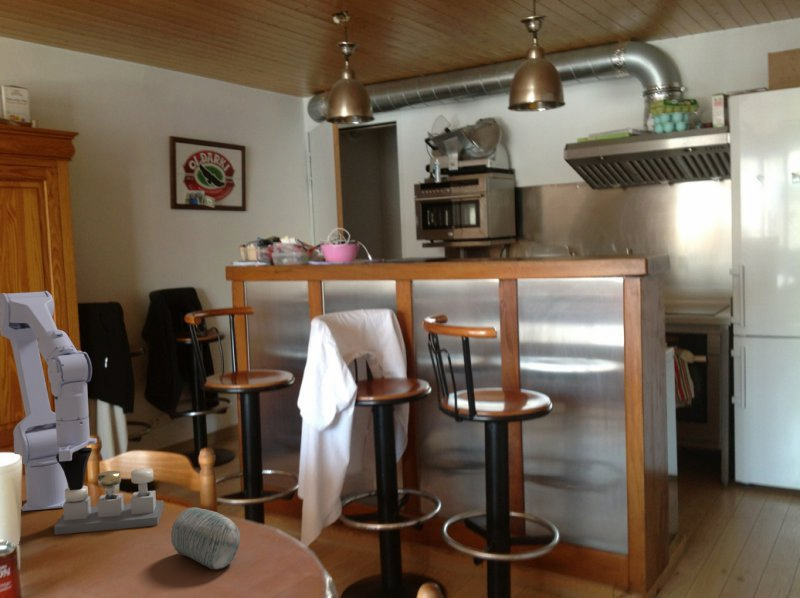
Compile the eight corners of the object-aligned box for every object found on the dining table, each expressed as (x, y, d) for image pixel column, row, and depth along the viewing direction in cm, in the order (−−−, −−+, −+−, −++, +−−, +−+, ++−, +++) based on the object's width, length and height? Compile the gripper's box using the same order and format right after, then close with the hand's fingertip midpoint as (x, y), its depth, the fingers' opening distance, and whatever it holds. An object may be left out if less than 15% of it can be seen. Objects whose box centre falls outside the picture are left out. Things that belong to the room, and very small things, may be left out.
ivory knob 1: (68, 510, 145) (67, 486, 145) (91, 509, 146) (89, 484, 145) (63, 518, 141) (62, 492, 141) (86, 516, 142) (85, 490, 141)
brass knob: (101, 496, 146) (100, 471, 146) (123, 494, 147) (121, 470, 146) (97, 502, 142) (95, 477, 142) (119, 500, 143) (118, 475, 142)
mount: (67, 516, 148) (66, 493, 147) (163, 507, 151) (162, 485, 151) (54, 534, 138) (53, 510, 138) (157, 525, 141) (156, 501, 141)
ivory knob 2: (133, 493, 147) (132, 469, 147) (155, 491, 148) (154, 467, 148) (130, 500, 143) (129, 475, 143) (152, 498, 144) (151, 473, 144)
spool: (150, 538, 126) (179, 485, 127) (196, 548, 132) (224, 497, 133) (182, 584, 116) (215, 525, 117) (231, 592, 122) (261, 537, 123)
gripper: (86, 424, 136) (90, 499, 137) (102, 408, 150) (105, 476, 151) (44, 427, 134) (49, 502, 135) (64, 411, 149) (68, 479, 149)
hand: (76, 488), depth 143 cm, fingers closed, pressing on ivory knob 1
